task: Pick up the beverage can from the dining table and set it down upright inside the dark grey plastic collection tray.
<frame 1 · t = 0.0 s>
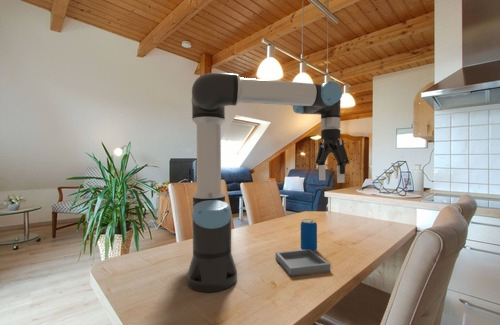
hand: (330, 181, 98), 28 cm above the table, fingers open, 13 cm apart
beverage can: (308, 250, 97), on the table
tray: (301, 264, 84), on the table
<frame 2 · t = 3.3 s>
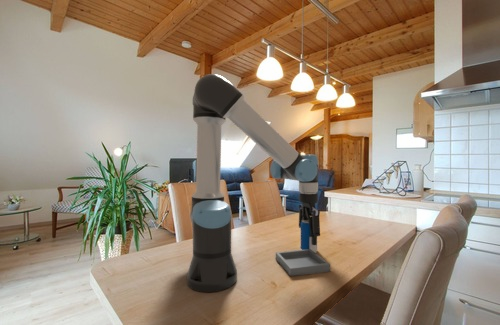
hand: (308, 249, 97), 0 cm above the table, fingers closed on beverage can, 6 cm apart
beverage can: (308, 250, 97), on the table, touching gripper
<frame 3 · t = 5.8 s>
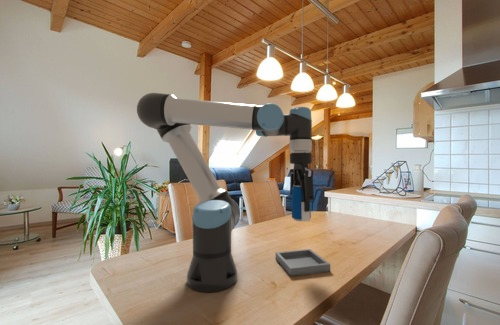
hand: (301, 218, 84), 16 cm above the table, fingers closed on beverage can, 6 cm apart
beverage can: (301, 220, 84), point 16 cm above the table, touching gripper
when the fingers open (3 cm above the table, at t = 8.5 s): beverage can drops 2 cm, resting on tray.
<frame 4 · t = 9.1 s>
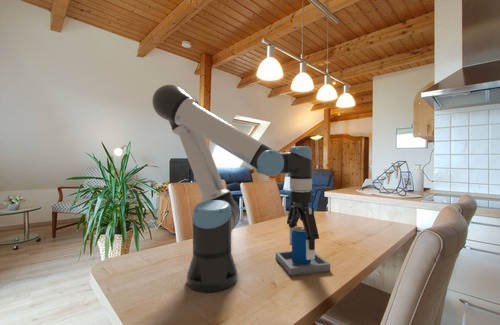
hand: (301, 251, 84), 5 cm above the table, fingers open, 13 cm apart
beverage can: (301, 263, 84), resting on tray
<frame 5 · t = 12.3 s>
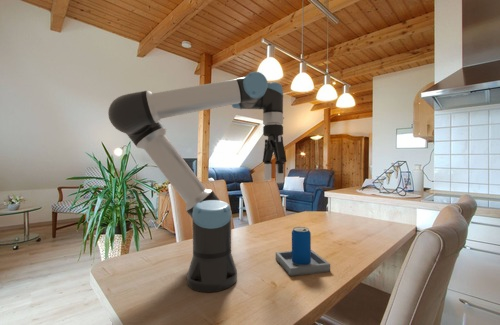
hand: (273, 181, 91), 29 cm above the table, fingers open, 13 cm apart
nothing on the table moved.
at the end: beverage can inside the target area on the tray (0.0 cm from its centre), point 0.4 cm above the tray's base; beverage can tilted 0°; the gripper is holding nothing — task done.
